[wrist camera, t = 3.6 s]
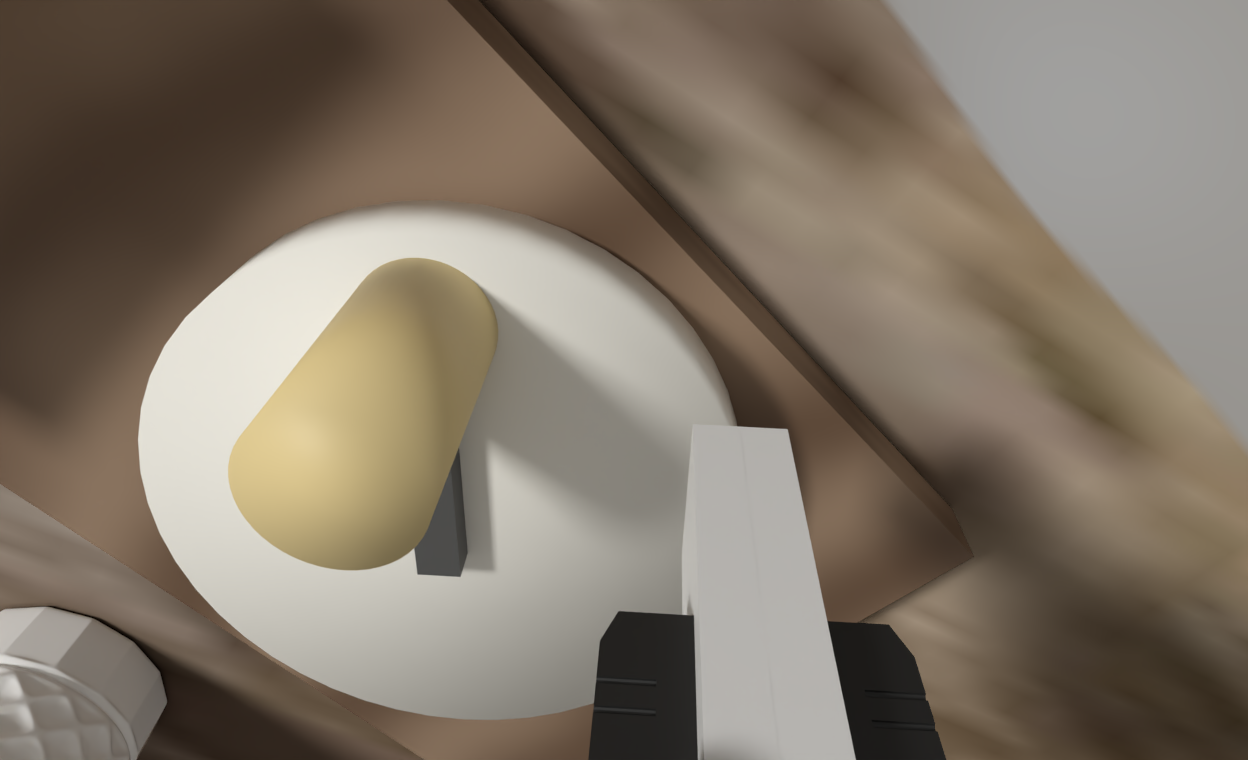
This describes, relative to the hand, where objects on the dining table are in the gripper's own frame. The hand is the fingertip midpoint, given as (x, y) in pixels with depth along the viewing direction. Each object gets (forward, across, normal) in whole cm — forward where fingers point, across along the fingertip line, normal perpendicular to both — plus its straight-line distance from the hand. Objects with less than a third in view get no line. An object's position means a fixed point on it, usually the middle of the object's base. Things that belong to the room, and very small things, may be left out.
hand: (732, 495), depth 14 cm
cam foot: (+6, +6, +4) cm, 10 cm away
